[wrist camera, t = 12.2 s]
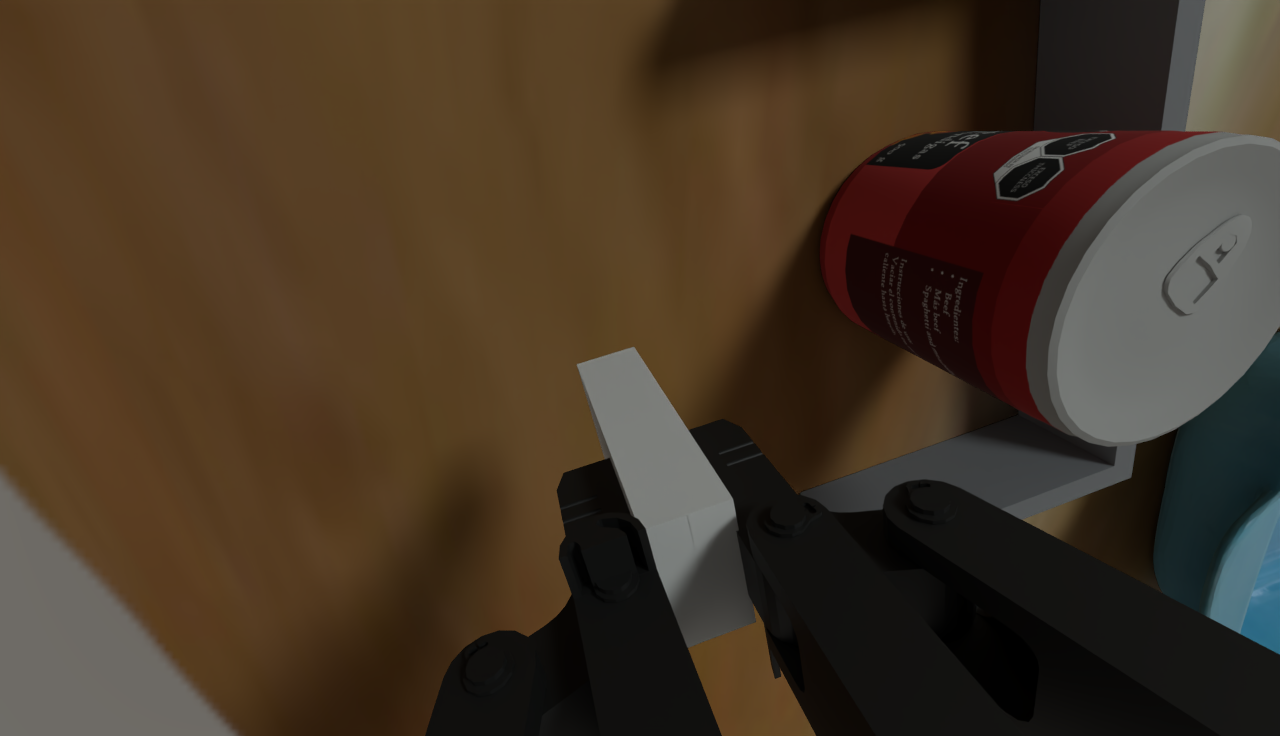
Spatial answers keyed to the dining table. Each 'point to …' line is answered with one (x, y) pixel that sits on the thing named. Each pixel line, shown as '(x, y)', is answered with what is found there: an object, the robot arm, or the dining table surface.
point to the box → (1065, 101)
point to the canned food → (1068, 267)
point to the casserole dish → (1227, 507)
